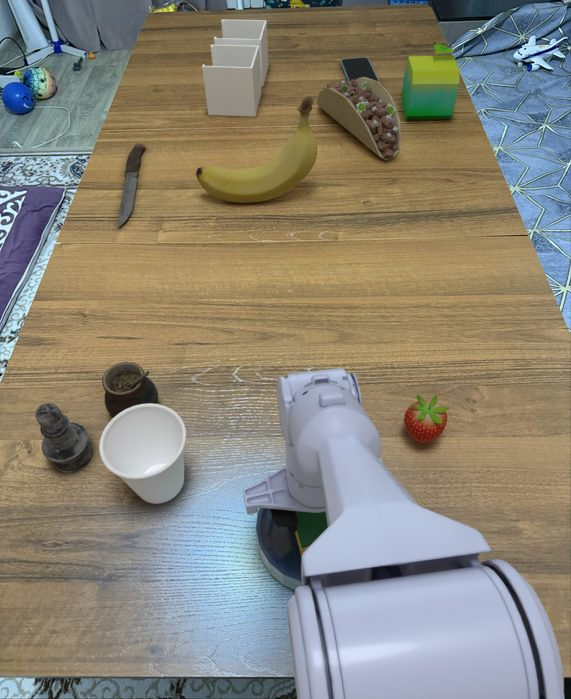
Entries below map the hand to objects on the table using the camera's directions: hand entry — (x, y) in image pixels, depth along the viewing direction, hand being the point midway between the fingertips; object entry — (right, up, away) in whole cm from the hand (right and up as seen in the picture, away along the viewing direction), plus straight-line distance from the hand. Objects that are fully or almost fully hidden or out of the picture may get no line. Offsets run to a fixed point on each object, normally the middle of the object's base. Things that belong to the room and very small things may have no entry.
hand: (313, 518), depth 65 cm
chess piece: (-32, +5, +13) cm, 34 cm away
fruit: (+15, +7, +14) cm, 22 cm away
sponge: (0, -1, +1) cm, 1 cm away
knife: (-34, +52, +51) cm, 81 cm away
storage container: (-14, +82, +76) cm, 113 cm away
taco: (+12, +67, +63) cm, 93 cm away
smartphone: (+15, +87, +79) cm, 118 cm away
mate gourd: (-24, +10, +17) cm, 31 cm away
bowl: (0, -4, +5) cm, 6 cm away
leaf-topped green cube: (+29, +74, +68) cm, 104 cm away
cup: (-19, +2, +10) cm, 22 cm away
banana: (-8, +48, +48) cm, 69 cm away
